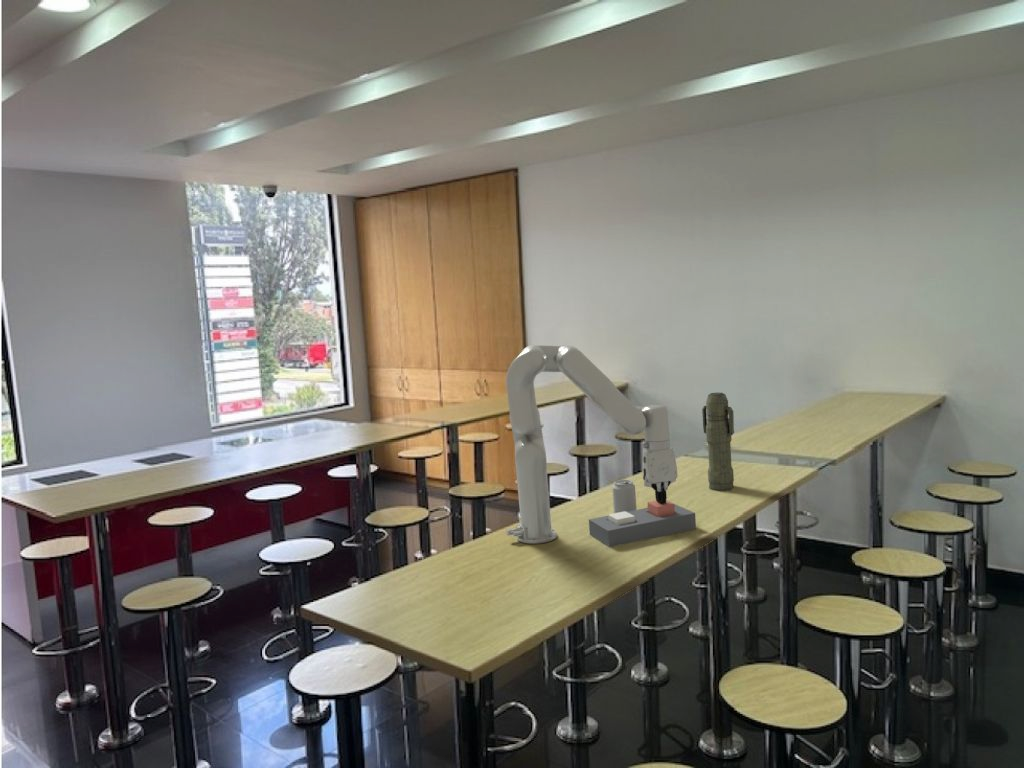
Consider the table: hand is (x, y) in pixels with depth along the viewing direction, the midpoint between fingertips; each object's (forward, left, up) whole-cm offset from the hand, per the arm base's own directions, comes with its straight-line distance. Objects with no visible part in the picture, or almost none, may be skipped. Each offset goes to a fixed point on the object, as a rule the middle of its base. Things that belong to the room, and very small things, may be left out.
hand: (661, 502), depth 224 cm
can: (-4, +17, -8) cm, 19 cm away
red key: (0, 0, -4) cm, 4 cm away
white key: (-14, 0, -6) cm, 15 cm away
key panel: (-7, 0, -8) cm, 11 cm away
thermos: (+41, +27, -8) cm, 50 cm away
